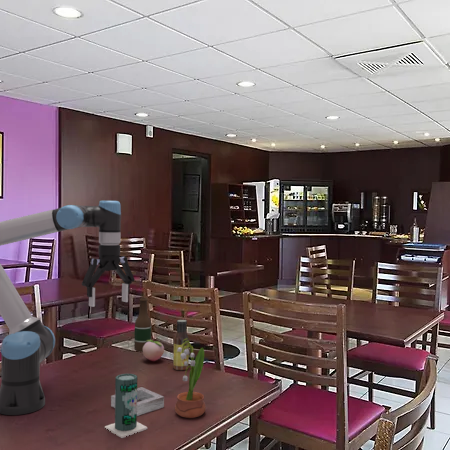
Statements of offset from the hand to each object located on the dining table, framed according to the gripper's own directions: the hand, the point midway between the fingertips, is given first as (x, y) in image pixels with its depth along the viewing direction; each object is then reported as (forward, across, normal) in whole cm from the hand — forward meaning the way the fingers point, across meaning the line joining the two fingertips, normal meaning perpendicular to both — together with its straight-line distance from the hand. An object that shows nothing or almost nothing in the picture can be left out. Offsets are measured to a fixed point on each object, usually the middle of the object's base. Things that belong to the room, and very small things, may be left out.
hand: (108, 303), depth 181 cm
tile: (+32, +12, +30) cm, 45 cm away
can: (+31, +12, +29) cm, 45 cm away
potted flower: (+32, -8, +34) cm, 48 cm away
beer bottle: (+32, -42, -36) cm, 64 cm away
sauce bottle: (+32, -37, -3) cm, 49 cm away
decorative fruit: (+32, -34, -18) cm, 50 cm away
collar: (+32, 0, +18) cm, 36 cm away
